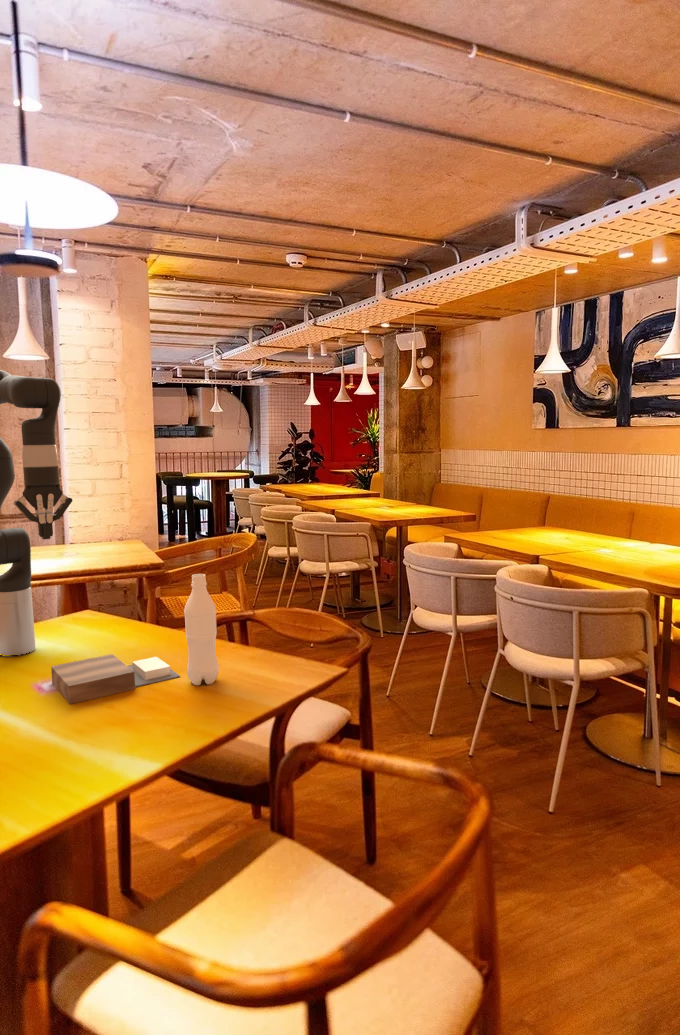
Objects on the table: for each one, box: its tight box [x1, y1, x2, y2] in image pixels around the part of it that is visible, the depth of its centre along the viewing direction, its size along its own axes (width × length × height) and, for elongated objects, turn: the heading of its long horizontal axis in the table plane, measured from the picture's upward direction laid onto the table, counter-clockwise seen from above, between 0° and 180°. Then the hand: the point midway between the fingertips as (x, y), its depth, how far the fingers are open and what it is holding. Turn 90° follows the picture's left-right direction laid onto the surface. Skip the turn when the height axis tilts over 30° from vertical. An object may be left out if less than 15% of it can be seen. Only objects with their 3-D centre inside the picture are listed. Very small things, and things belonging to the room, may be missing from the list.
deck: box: [50, 653, 136, 705], centre depth 151 cm, size 16×14×4 cm
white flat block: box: [131, 656, 171, 680], centre depth 158 cm, size 9×6×2 cm, turn 36°
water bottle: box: [183, 573, 220, 686], centre depth 151 cm, size 7×7×25 cm
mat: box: [127, 664, 181, 688], centre depth 158 cm, size 15×11×1 cm
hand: (46, 538), depth 155 cm, fingers closed
